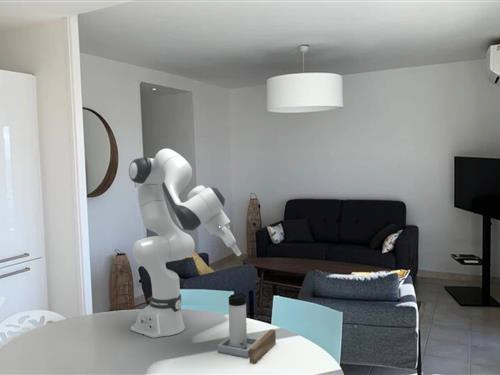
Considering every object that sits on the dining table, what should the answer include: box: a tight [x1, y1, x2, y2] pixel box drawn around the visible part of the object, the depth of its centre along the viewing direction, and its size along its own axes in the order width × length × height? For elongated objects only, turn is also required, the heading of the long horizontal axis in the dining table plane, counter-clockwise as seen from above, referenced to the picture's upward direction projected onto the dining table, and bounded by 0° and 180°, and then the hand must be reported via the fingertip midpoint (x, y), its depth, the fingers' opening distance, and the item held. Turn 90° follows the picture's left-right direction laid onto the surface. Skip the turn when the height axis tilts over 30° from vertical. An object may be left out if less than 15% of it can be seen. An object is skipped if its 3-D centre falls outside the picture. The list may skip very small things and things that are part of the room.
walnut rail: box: [249, 329, 277, 365], centre depth 158 cm, size 2×18×5 cm, turn 154°
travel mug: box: [228, 292, 248, 350], centre depth 160 cm, size 6×7×20 cm
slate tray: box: [217, 336, 260, 359], centre depth 161 cm, size 12×11×3 cm
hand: (239, 255), depth 165 cm, fingers open, 8 cm apart
